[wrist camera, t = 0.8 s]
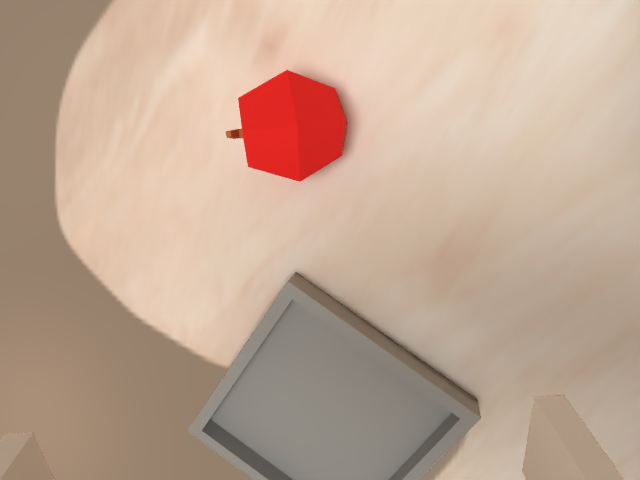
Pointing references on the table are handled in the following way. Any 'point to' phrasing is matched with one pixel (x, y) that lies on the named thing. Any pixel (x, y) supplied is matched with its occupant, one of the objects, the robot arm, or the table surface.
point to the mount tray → (330, 399)
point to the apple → (291, 126)
